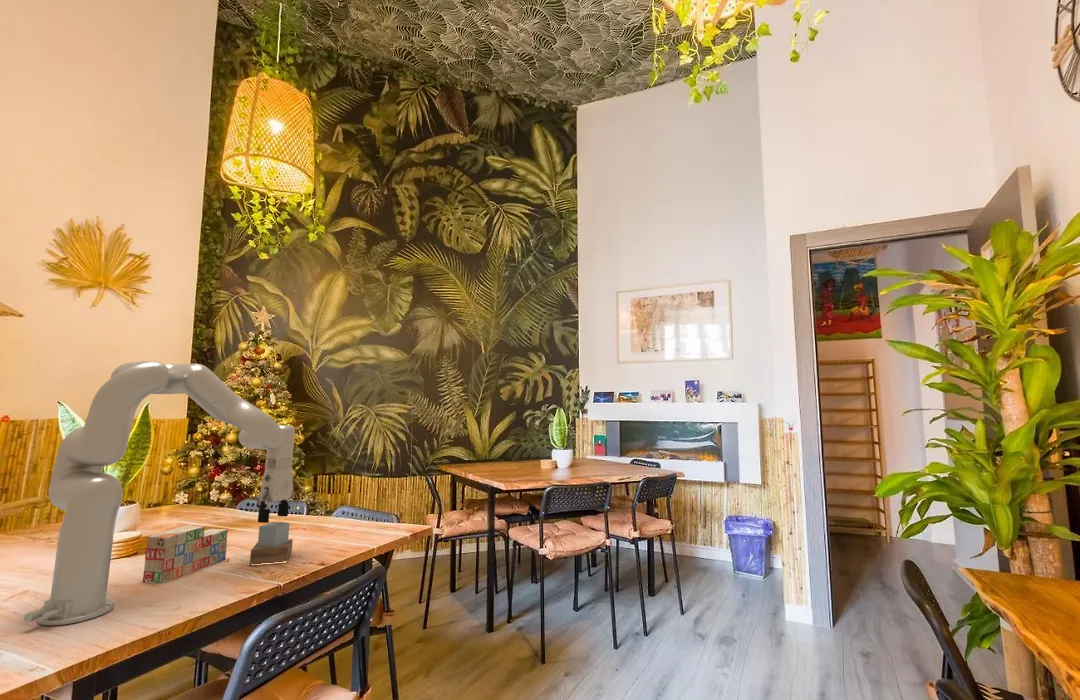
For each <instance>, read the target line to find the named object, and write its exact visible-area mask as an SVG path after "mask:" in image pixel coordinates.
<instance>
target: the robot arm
mask: <svg viewBox="0 0 1080 700" xmlns="http://www.w3.org/2000/svg"><path fill="white" fill-rule="evenodd" d="M172 394H173V395H177V394H179V395H180V394H181V395H182V394H185V395H187V396H188V398H190V399H191V400H192V401H194V402H195V403H196V404H197V405H198V406H199V407H200V408H201V409H203V410H204V411H205V412H206V413H208V415H209V416H211V417H212V418H214V419H216V420H217V421H220V422H223V423H226V424H229V425H232V426H235V427H237V428H239V429H241V430H240V431H239V432H238V441H239V443H240V444H241V446H243V448H247V449H252V450H266V456H265V463H264V464H265V466H264V473H263V477H262V480H261V481H262V482H261V486H260V492H259V493H258V494H257V495H256V496H255V499H256V505H257V510H258V515H257V516H258V517H257V523H263V524H264V523H265V524H268V523H270V513H271V509H270V506H271V504H272V503H273V502H274V503H276V502H279V503H278V507H277V509H278V510H277V517H285V518H286V517H288V515H289V507H290V503H291V498H292V495H293V492H294V490H295V489H294V487H293V484H294V483H293V481H294V480H293V478H294V477H293V467H292V464H293V455H294V443H295V435H296V428H295V427H294V426H293V425H282V424H280V425H279V424H278V423H277V422H276V421H275V420H274V419H273V418H271V416H269V415H268V414H267V413H266V412H265V411H263V410H262V409H260V408H258V407H257V406H255V405H254V404H252V403H250V402H249V401H247V400H245V399H244V398H242V397H240V396H239V395H237V393H236V392H235V391H233V390H232V388H230V387H229V386H228V385H226V383H225V382H224V381H222V379H220V378H219V377H218V376H217V375H216V374H215V373H214V372H213V371H212V370H211V369H210V368H208V367H207V366H205V365H203V364H201V363H181V364H180V363H179V364H177V363H176V364H164V363H163V362H160V361H157V360H156V361H154V360H143V361H134V362H133V361H130V362H127V363H123V364H120V365H119V366H116V367H115V368H114V369H113V371H112V372H111V375H110V378H109V379H108V380H107V381H105V382H104V384H103V385H102V386H100V388H99V389H98V390H97V392H96V393H95V394H94V396H93V398H92V400H91V404H90V406H89V410H88V413H87V416H86V419H85V422H84V425H83V426H81V427H77V428H76V429H73V430H72V431H70V432H69V433H68V434H67V435H66V436H65V437H64V438H63V440H62V441H61V444H60V445H59V447H58V451H57V453H56V457H55V462H54V466H53V469H52V473H51V478H50V480H49V485H48V487H49V488H48V499H49V501H50V503H51V504H52V505H53V507H56V508H57V509H60V510H62V511H65V514H64V517H63V520H62V523H61V525H60V528H59V533H58V537H57V545H56V554H55V560H54V569H53V574H52V575H53V576H52V582H51V583H52V584H51V590H50V591H51V592H50V597H49V599H46V600H44V605H42V606H41V607H40V608H39V609H35V610H32V611H29V612H26V613H25V614H24V615H23V620H24V623H30V622H33V621H36V620H37V621H36V622H37V623H38V624H39V625H42V626H61V625H69V624H74V623H80V622H83V621H89V620H91V619H95V618H97V617H100V616H102V615H104V614H106V613H108V612H110V611H111V610H112V609H113V608H114V607H115V601H114V600H113V599H111V598H107V593H108V585H109V577H110V576H109V575H110V567H111V562H112V561H111V560H112V551H113V544H114V535H115V528H116V521H117V517H118V513H119V510H120V507H121V504H122V500H123V494H124V493H123V492H124V491H123V486H122V484H121V482H120V481H119V480H118V479H117V477H115V476H114V475H112V474H109V473H105V472H104V468H105V467H108V466H112V465H114V464H116V463H118V462H119V461H121V460H122V459H123V457H124V456H125V454H126V452H127V450H128V444H129V440H130V439H129V438H130V435H131V430H132V425H133V421H134V418H135V414H136V411H137V409H138V407H139V406H140V404H141V402H143V400H145V398H147V397H149V396H150V395H172Z"/></svg>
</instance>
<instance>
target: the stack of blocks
mask: <svg viewBox="0 0 1080 700" xmlns="http://www.w3.org/2000/svg"><path fill="white" fill-rule="evenodd" d="M227 538H228V529H225V528H223V529H222V528H221V529H220V528H208V529H205V526H204V525H203V526H198V525H196V526H195V525H184V526H180V527H177V528H173V529H170V530H165V531H164V532H158V533H156V534H151V535H149V536H147V539H146V540H147V541H146V547H145V555H144V556H145V557H144V559H145V560H144V566H143V567H144V569H143V574H142V575H143V577H142V582H143V581H147V582H146V583H148V582H154V583H153V584H161V583H162V584H164V582H165V583H167V582H170V581H173V580H176V579H179V578H181V577H184V576H187V575H189V574H192V573H194V572H196V570H197V571H199V570H201V568H202V569H204V568H207V567H209V566H208V565H210V566H212V565H214V563H215V564H217V563H220V562H222V561H221V560H223V561H225V560H226V555H227V546H228V539H227ZM224 559H225V560H224ZM219 561H220V562H219ZM206 566H207V567H206ZM203 567H204V568H203ZM198 569H199V570H198ZM186 574H187V575H186ZM175 578H176V579H175ZM172 579H173V580H172ZM169 580H170V581H169ZM166 581H167V582H166Z"/></svg>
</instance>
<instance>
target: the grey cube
mask: <svg viewBox="0 0 1080 700" xmlns="http://www.w3.org/2000/svg"><path fill="white" fill-rule="evenodd" d="M289 534H290V522H281V521H271V522H267V523H265V524H263V525H259V526H258V539H257V542H258V546H261V547H277V546H280V545H282V544H285V543H287V542H288V539H289V536H290V535H289Z"/></svg>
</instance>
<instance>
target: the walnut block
mask: <svg viewBox="0 0 1080 700" xmlns="http://www.w3.org/2000/svg"><path fill="white" fill-rule="evenodd" d="M293 542H294V540H293V538H291V539H289V538H288V542H287V543H285V544H282V545H280V546H277V547H261V546H258V541H257V542H256V544H255V545H254V546H253V547H252V548H251V550H250V558H249V566H250V565H251V564H261V563H274V562H283V561H287V560H288V558H289V557H291V556H292V554H291V553H293ZM290 555H291V556H290ZM289 559H290V558H289ZM288 561H289V560H288Z"/></svg>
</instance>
